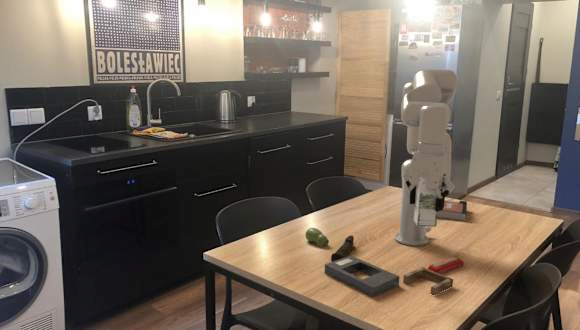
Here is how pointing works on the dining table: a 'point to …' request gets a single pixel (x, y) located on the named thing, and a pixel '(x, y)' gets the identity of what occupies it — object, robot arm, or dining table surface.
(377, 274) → the grey rectangular frame
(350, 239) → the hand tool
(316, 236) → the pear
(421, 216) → the syrup box
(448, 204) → the book
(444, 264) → the candy bar
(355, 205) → the dining table surface
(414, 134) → the robot arm
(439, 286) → the cradle
